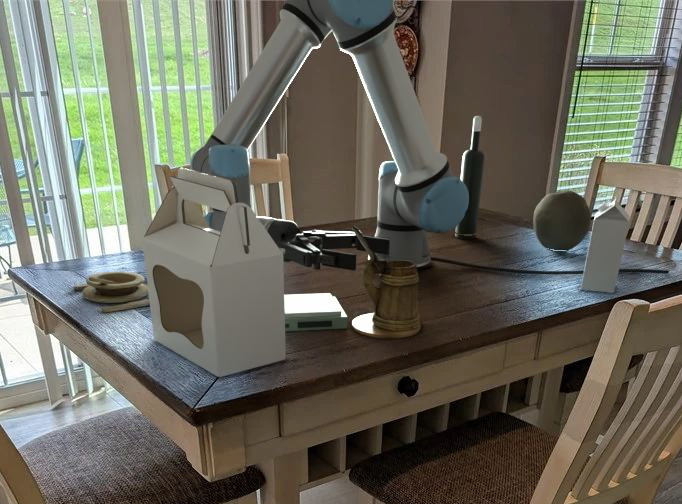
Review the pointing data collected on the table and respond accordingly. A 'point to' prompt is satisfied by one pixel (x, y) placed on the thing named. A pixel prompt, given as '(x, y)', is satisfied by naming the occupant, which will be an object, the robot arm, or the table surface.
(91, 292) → the tableware set
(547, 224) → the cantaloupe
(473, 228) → the wine bottle
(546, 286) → the table surface
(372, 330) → the golden round disc
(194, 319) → the gable box
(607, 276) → the milk carton
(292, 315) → the kitchen scale
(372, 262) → the wooden mug
